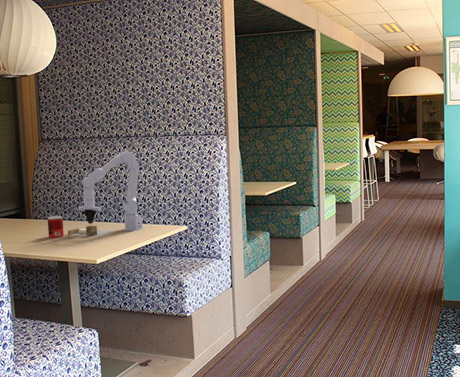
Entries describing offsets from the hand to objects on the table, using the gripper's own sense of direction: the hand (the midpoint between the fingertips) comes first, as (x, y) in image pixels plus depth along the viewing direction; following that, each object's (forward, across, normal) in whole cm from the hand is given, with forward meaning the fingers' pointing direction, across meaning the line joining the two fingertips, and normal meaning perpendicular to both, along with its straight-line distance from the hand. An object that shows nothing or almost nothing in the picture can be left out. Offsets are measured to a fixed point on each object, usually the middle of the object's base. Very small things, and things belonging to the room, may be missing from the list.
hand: (90, 223), depth 342 cm
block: (+5, +6, -6) cm, 10 cm away
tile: (+4, +1, 0) cm, 4 cm away
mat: (+6, +1, -1) cm, 6 cm away
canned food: (+6, -11, -15) cm, 20 cm away
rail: (+5, -8, -6) cm, 11 cm away
